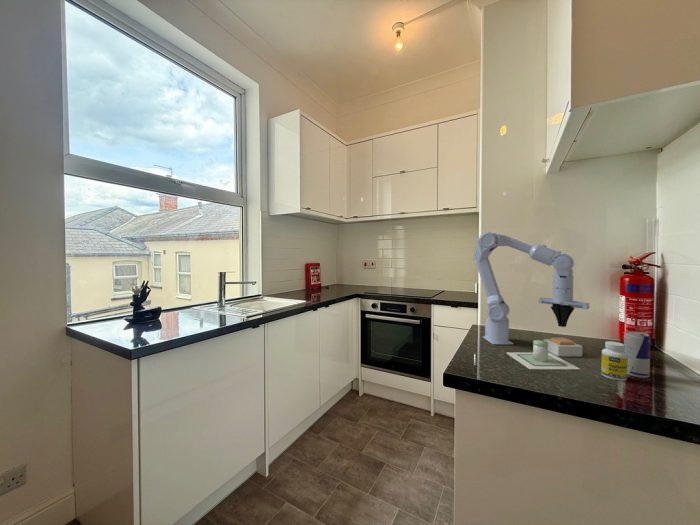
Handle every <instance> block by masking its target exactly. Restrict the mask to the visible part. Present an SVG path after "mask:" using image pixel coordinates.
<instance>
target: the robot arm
mask: <svg viewBox="0 0 700 525" xmlns="http://www.w3.org/2000/svg"><path fill="white" fill-rule="evenodd" d="M498 247H509V248H512V249H515V250H518V251H520V252H523V253H526V254H528V255H529V257H530V259H531V260H533V261H536V262H539V263H540V264H543V265H546V266H552V267H553V275H552V298H546V297H539V298H538V303H539V304H546V305H552V306H551V307H550V308H551V310H552V312H553V314H554V316H555V318H556V322H557V325H558V327H562V328H565V327H567V323H568V321H569V318H570V316H571V314H572V313H573V312H574V310H575V309H582V310H589V309H590V302H589V303H588V302H584V301H583V302H582V301H578V300H577V301H576V300H574V275H573V274H574V270H573V268H574V266H575V262H574V259H573V258H572V256H570V255H568V254H567V253H562V250H561V251H560V250H555V249H552V248H549V247H547V245H546V244H542V245H541V244H536V245H534V246H533V245H531V244H528V243H526V242H523V241H520V240H518V239H516V238H513V237H511V236H507V235H503V234H500V233H499V234H498V233H495V232H491V231H485V232H483V233H482V234H481V235H480V236H479V237H478V239H477V240H476V246H475V250H474V254H473V257H474V258H473V259H474V261H475V264H476V267H477V270H478V273H479V277H480V279H481V283H482V285H483V288H484V291H485V295H486V299H487V300H486V301H487V302H486V304H487V316H488V317H487V319H486V320H485V322H484V335H483V336H482V338H483V339H484V340H486V341H488V342H489V343H490V344H491V345H514V342H512V341H510V338H509V336H510V319H509V317H508V315H509V314H510V307H509V305H508V304H507V303H506V301H505V300H504V299H505V298H504V297H503V296H502V295H501V293H500V292H501V291H500V289H499V286H498V283H497V280H496V277H495V275H494V271H493V268H492V264H491V262H490V259H489V256H490V255H492V252H493V251H494V250H495V249H497V248H498Z"/></svg>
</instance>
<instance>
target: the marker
mask: <svg viewBox="0 0 700 525" xmlns="http://www.w3.org/2000/svg"><path fill="white" fill-rule="evenodd" d="M532 348H533V349H532V350H533V351H532V353H533V359H534V360H536V361H539V362H548V353H549V351H548V342H546V341H543V339H542V340H541V339H535V340H533V341H532Z"/></svg>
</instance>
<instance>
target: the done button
mask: <svg viewBox="0 0 700 525" xmlns="http://www.w3.org/2000/svg"><path fill="white" fill-rule="evenodd" d="M550 339H551V341H552V342H554V343H556V344H558V345H574V343H575V341H573V340H572V339H568V338H566V337H550Z"/></svg>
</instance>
